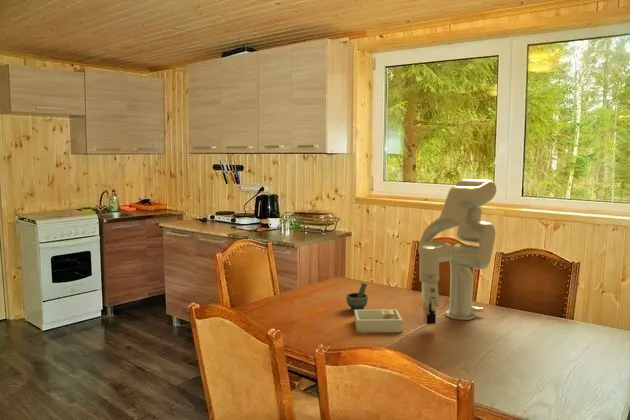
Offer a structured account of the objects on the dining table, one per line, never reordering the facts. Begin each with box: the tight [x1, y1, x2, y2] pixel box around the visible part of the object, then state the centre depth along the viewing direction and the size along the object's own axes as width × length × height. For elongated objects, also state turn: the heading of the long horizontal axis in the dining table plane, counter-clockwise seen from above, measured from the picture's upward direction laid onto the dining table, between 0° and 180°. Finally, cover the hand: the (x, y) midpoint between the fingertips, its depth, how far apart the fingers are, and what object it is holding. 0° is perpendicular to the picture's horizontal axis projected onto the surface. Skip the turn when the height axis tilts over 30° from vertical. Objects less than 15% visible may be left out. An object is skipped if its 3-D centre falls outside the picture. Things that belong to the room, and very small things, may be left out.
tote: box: [353, 308, 404, 334], centre depth 213 cm, size 18×14×5 cm
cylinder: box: [422, 303, 437, 326], centre depth 206 cm, size 5×5×7 cm
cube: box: [381, 310, 395, 319], centre depth 213 cm, size 5×5×5 cm
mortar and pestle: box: [345, 282, 369, 313], centre depth 234 cm, size 11×9×12 cm
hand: (429, 320), depth 207 cm, fingers closed on cylinder, 5 cm apart
